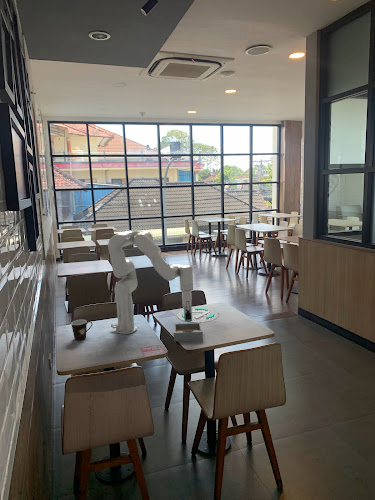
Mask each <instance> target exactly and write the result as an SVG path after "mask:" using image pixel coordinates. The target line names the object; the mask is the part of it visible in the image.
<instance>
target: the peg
mask: <svg viewBox="0 0 375 500" xmlns="http://www.w3.org/2000/svg"><path fill="white" fill-rule="evenodd" d="M186 304H187V303H186ZM192 308H193V305H191V308H190V312H191V320H186V318H185V313H186V310H187V309H186V310H185V308H183V310H184V320H185V321H184V322H185V323H192V322H191V321H192Z"/></svg>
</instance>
